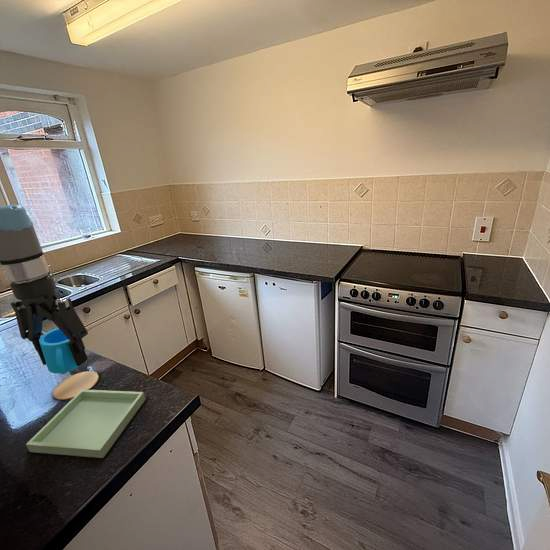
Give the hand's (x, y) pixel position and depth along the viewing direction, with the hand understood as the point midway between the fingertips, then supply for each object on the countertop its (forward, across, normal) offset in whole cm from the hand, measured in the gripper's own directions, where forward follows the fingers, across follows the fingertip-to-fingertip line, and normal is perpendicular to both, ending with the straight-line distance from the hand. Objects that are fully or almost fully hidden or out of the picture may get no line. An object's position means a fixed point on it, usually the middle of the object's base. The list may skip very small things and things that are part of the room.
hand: (65, 361), depth 74 cm
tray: (+17, -4, +3) cm, 18 cm away
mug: (+2, 0, 0) cm, 2 cm away
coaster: (+17, +12, -10) cm, 23 cm away
